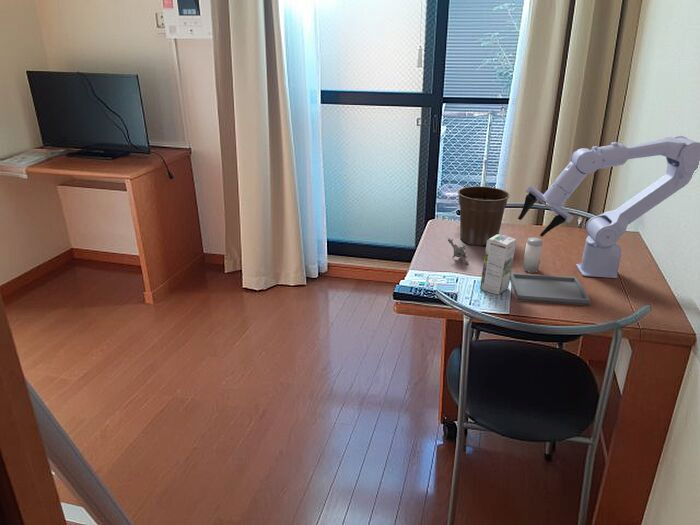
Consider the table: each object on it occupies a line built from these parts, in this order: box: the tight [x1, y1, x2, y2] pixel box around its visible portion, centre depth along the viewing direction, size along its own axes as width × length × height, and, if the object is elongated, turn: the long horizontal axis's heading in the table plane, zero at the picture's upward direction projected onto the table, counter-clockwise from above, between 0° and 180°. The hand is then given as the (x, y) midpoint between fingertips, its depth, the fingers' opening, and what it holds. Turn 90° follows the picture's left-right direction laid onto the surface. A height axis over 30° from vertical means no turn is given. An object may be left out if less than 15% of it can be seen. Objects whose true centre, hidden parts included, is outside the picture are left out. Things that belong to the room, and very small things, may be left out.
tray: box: [509, 272, 591, 306], centre depth 144 cm, size 18×14×2 cm
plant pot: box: [457, 185, 511, 247], centre depth 176 cm, size 16×16×16 cm
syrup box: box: [479, 234, 517, 296], centre depth 142 cm, size 6×6×14 cm
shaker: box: [521, 237, 543, 273], centre depth 156 cm, size 4×4×9 cm
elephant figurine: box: [447, 237, 469, 266], centre depth 162 cm, size 10×6×9 cm
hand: (530, 227), depth 153 cm, fingers open, 7 cm apart
